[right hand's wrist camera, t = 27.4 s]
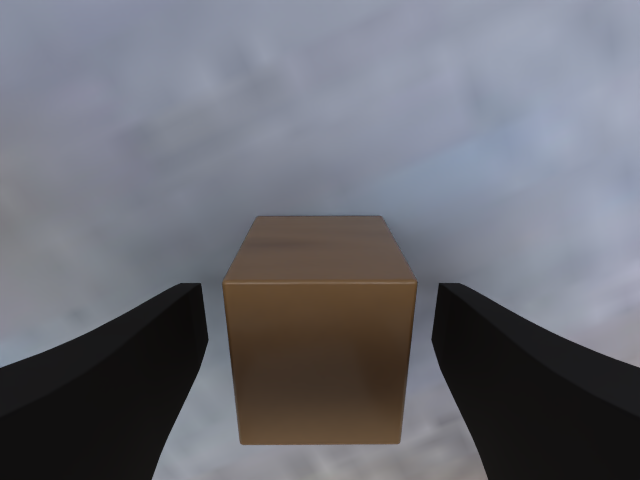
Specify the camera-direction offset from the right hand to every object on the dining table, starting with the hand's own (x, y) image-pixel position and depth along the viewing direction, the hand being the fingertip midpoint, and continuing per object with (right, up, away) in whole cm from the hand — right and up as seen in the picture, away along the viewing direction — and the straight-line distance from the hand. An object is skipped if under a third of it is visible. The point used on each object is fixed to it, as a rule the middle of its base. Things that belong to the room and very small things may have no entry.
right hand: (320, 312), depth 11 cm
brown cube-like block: (0, +1, +2) cm, 2 cm away
